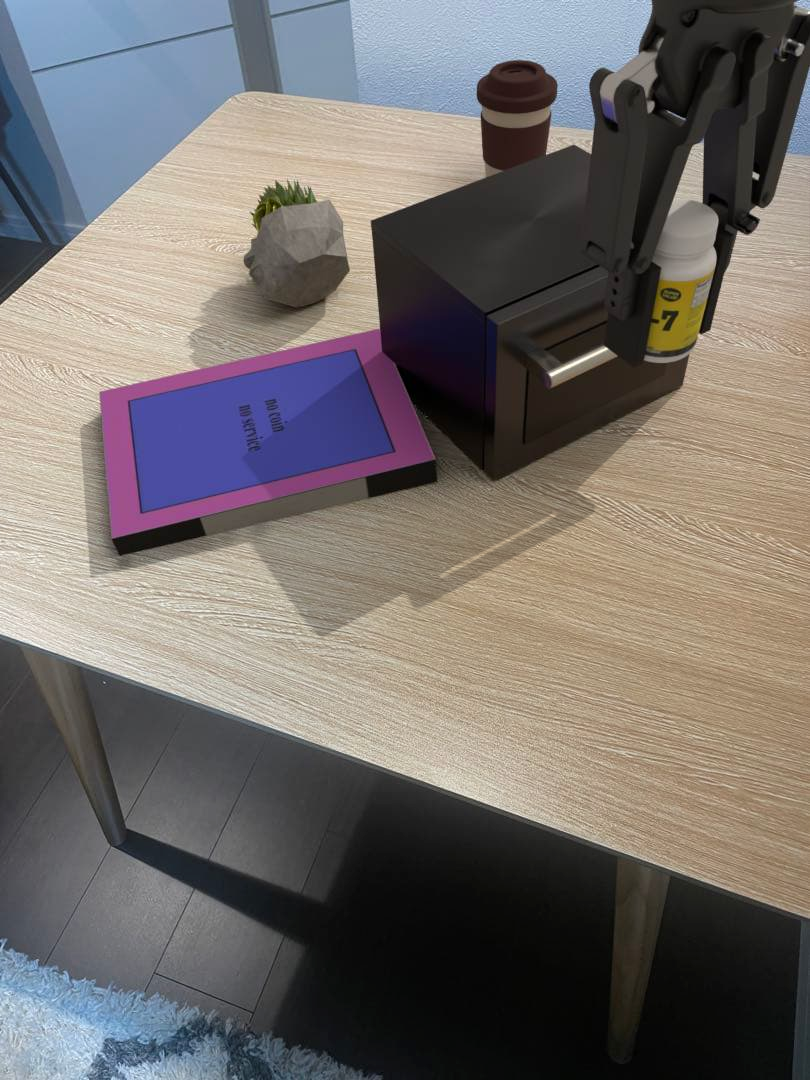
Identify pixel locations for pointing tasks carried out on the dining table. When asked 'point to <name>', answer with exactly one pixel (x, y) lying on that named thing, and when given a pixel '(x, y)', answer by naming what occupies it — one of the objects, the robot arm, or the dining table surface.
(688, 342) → the supplement bottle
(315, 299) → the potted plant
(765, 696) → the dining table surface
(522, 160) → the coffee cup
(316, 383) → the book
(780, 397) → the dining table surface
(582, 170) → the oven
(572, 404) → the oven door
